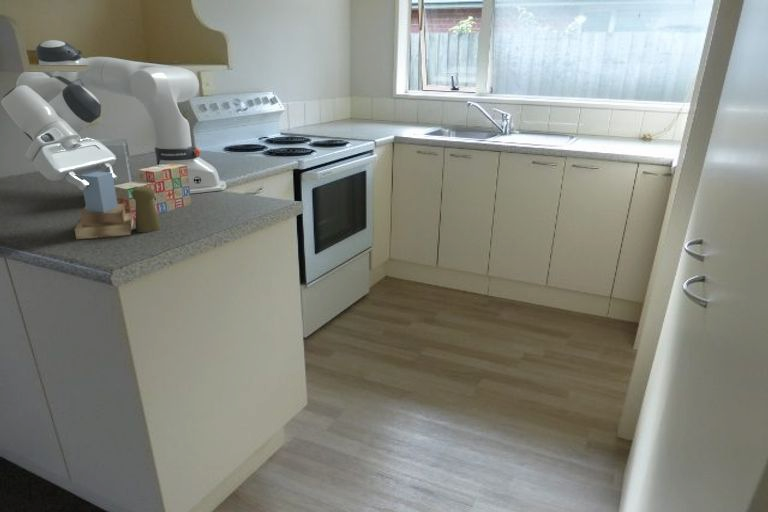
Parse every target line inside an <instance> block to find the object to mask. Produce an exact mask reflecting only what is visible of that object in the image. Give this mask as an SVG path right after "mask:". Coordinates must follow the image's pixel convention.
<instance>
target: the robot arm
mask: <svg viewBox="0 0 768 512" xmlns="http://www.w3.org/2000/svg"><path fill="white" fill-rule="evenodd" d="M35 50H36V59H37V60H38V64H39V66H40V65H87V66H90V67H91V68H89V69H87V70H86V71H77V72H59V71H55V72H25V71H23V72H22V73H21V74H20V75H19V76H18V77H17V79H16V84H15V85H16V86H15V87H13V88H12V89H10V90H8V92H6V93H5V94H4V95H3V97H2V99H1V100H0V104H1V106H2V107H3V109H4V110H5V112H6V113H7V114H8V116H9V117H10V119H12V121H13V122H14V123H15V124H16V125H17V126H18V127H19V129H20V130H22V133H24V134H25V136H26V137H28V138H29V139H30V140H31V141H32V143H31V144H30V146H29V147H28V149H27V150H26V153H25V157H26V159H28V160H29V161H31V162H32V164H33V166H34V167H35V169H36V170H37V171H38V172H39V174H42V176H43V177H44V178H45V179H47V180H48V181H51V182H58V181H61V180H65V181H66V182H68V183H70V184H72V185H74V186H76V187H77V188H78V189H79V190H80V191H83V190H85V189H88V187H89V184H88V183H87V181H86V180H81V178H79V177H77V176H80V175H82V174H86V173H90V172H94V171H98V170H102V171H103V172H107V173H112V174H113V180H114V181H115V180H116V179H117V176H116V175H115V174H114V173H113V170H112V165H113V164H114V163H115V161H116V156H115V155H114V154H113V153H112V152H111V151H110V150H109V149H108V148H107V147H106V146H104V145H103V144H102V143H101V142H99V141H97V140H98V139H94V138H92V137H88V136H86V137H82V138H81V135H79V133H80V132H81V131H83V130H84V129H85V128H86V127H87V126H89V125H90V124H91V123H93V122H94V121H96V120H97V119H99V118H100V117H101V115H102V114H101V113H102V104H101V103H100V101H99V99H98V98H97V97H96V96H95V94H94V93H93V92H91V91H90V90H88V88H87V87H86V85H88V86H90V87H92V88H93V89H94V88H95V89H97V90H99V91H102V92H107V93H111V94H116V95H120V96H126V97H132V98H135V99H136V100H138V102H140V103H141V104H142V105H143V107H144V108H145V110H146V112H147V114H148V116H149V119H150V121H151V124H152V129H153V137H154V142H155V146H154V155H155V162H156V166H158V165H163V164H164V165H166V164H181V165H187V172H188V177H189V189H190V195H191V194H201V193H210V192H217V191H224V190H226V189H227V182H226V181H224V180H223V179H220V177H219V173H218V171H217V169H216V168H215V167H214V166H213V165H212V164H210V163H209V162H207V161H206V160H204V159H202V158H201V157H200V155H201V150H200V149H199V148H198V147H197V146H194V145H192V137H191V136H192V135H191V128H190V123H189V120H188V119H187V118H185V117H184V116H183V115H182V113H181V111H180V108H179V106H178V103H183V102H187V101H189V100H191V99H193V98H195V97H196V96H197V95H198V93H199V90H200V83H199V79H198V77H197V75H196V74H195V73H194V72H193V71H192V70H190V69H187V68H184V67H180V66H174V65H167V64H159V63H150V62H143V61H135V60H128V59H121V58H116V57H110V56H90V57H86V58H84V57H83V56H84V54H83V53H82V51H81V50H79V49H77V48H75V46H73V45H72V44H70V43H68V42H66V41H63V40H62V41H61V40H57V39H50V40H45V41H44V42H40V43H39V44H38V45H37V46H36V49H35Z"/></svg>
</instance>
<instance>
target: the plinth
mask: <svg viewBox="0 0 768 512" xmlns="http://www.w3.org/2000/svg"><path fill="white" fill-rule="evenodd" d="M134 222H135V221H134V220H133V214H132V213H125V207H124V204H118V208H116V209H113V210H110V211H107V212H105V213H102V212H92V211H87V209H86V205H85V207H84V208H83V209H82V212H81V213H80V219H79V221H78V223H77V224H76V227H75V228H74V233H75V239H76V240H83V239H86V238H87V239H95V238H96V239H97V238H98V237H99V238H107V237H108V238H109V237H120V236H131V234H132V230H133V226H134Z"/></svg>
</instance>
